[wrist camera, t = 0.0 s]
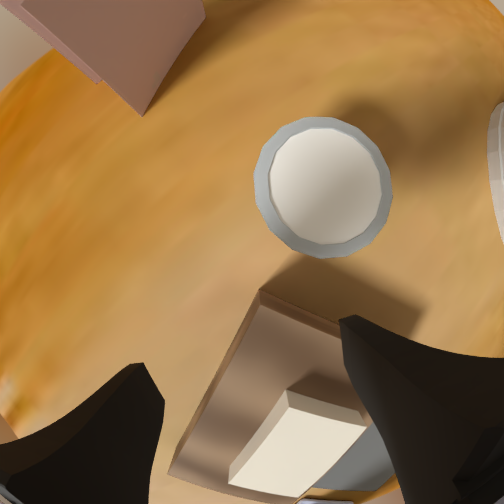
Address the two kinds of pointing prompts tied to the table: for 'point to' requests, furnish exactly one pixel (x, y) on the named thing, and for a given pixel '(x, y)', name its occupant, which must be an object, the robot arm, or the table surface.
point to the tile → (295, 445)
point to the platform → (262, 390)
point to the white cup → (323, 187)
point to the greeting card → (116, 38)
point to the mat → (361, 465)
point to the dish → (497, 163)
